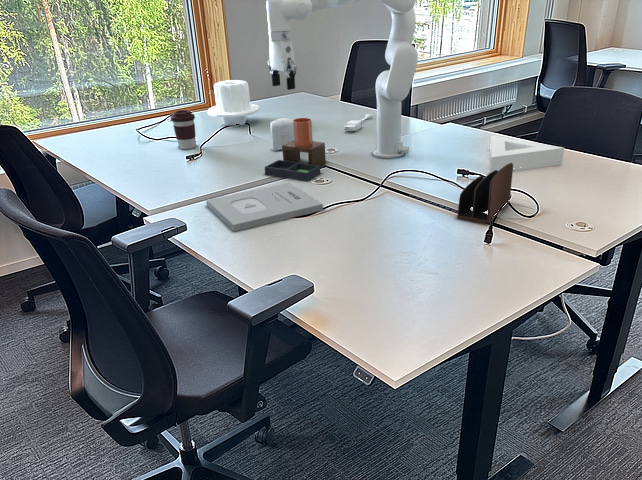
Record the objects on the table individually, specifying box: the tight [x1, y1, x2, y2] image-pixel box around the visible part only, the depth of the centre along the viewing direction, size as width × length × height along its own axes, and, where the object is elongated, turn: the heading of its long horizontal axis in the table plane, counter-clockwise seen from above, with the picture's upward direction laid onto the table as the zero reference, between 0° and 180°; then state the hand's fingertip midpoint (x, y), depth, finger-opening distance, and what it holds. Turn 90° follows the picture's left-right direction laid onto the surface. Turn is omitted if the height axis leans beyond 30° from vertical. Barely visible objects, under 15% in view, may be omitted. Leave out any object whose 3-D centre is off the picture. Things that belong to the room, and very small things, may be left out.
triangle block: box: [489, 134, 565, 174], centre depth 216 cm, size 30×26×6 cm
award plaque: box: [205, 182, 324, 232], centre depth 187 cm, size 25×30×2 cm
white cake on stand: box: [207, 79, 261, 127], centre depth 283 cm, size 25×25×19 cm
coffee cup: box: [170, 109, 197, 150], centre depth 248 cm, size 10×10×15 cm
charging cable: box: [343, 113, 372, 132], centre depth 276 cm, size 5×32×3 cm, turn 160°
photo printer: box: [269, 117, 294, 151], centre depth 243 cm, size 10×4×12 cm, turn 123°
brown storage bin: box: [281, 140, 326, 167], centre depth 224 cm, size 13×10×8 cm
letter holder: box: [456, 163, 514, 225], centre depth 177 cm, size 10×20×14 cm, turn 148°
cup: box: [292, 117, 313, 147], centre depth 220 cm, size 7×7×9 cm
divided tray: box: [264, 159, 321, 182], centre depth 216 cm, size 18×10×3 cm, turn 61°
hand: (283, 87), depth 213 cm, fingers open, 9 cm apart
